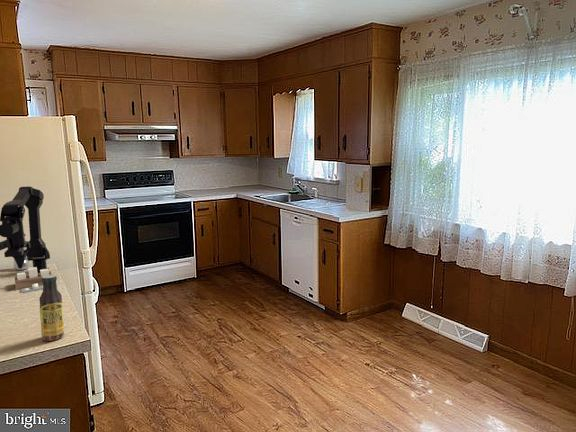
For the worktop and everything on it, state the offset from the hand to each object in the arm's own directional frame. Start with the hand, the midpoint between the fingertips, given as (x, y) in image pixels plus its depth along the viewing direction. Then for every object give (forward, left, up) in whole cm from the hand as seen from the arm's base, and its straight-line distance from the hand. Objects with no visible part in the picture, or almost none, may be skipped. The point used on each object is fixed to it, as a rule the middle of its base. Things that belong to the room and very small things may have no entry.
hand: (20, 268), depth 186 cm
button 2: (-2, +9, -7) cm, 12 cm away
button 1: (0, 0, -7) cm, 7 cm away
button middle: (-1, +4, -6) cm, 7 cm away
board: (-1, +4, -8) cm, 9 cm away
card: (+7, +6, -8) cm, 12 cm away
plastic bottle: (-32, -6, -8) cm, 33 cm away
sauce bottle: (+65, +21, -8) cm, 69 cm away
